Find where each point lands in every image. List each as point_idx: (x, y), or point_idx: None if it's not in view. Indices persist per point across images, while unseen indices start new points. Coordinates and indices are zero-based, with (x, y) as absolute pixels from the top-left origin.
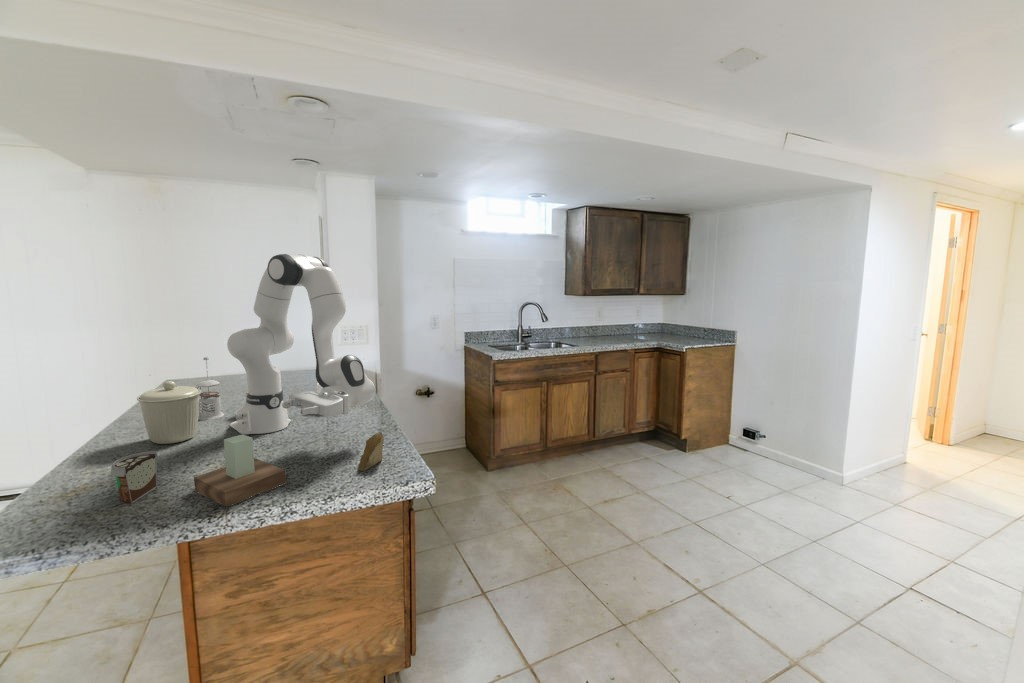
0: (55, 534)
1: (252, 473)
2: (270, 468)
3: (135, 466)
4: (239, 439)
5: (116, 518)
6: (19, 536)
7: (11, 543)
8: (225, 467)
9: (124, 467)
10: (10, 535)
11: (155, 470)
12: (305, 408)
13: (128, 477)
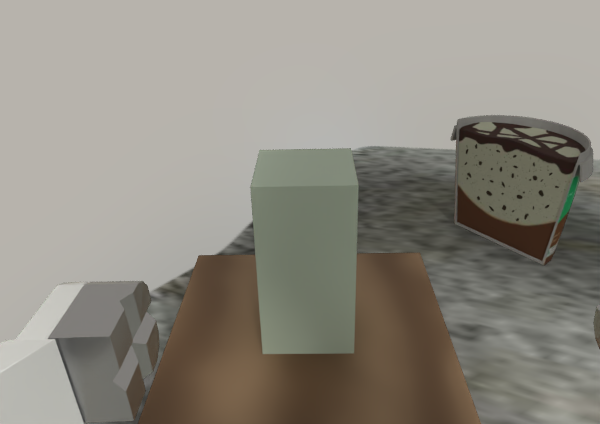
0: (400, 166)
1: (260, 344)
2: (234, 409)
3: (491, 142)
4: (288, 165)
5: (387, 202)
6: (437, 153)
7: (417, 149)
8: (436, 321)
9: (490, 130)
10: (453, 150)
11: (558, 215)
12: (62, 302)
13: (463, 153)
